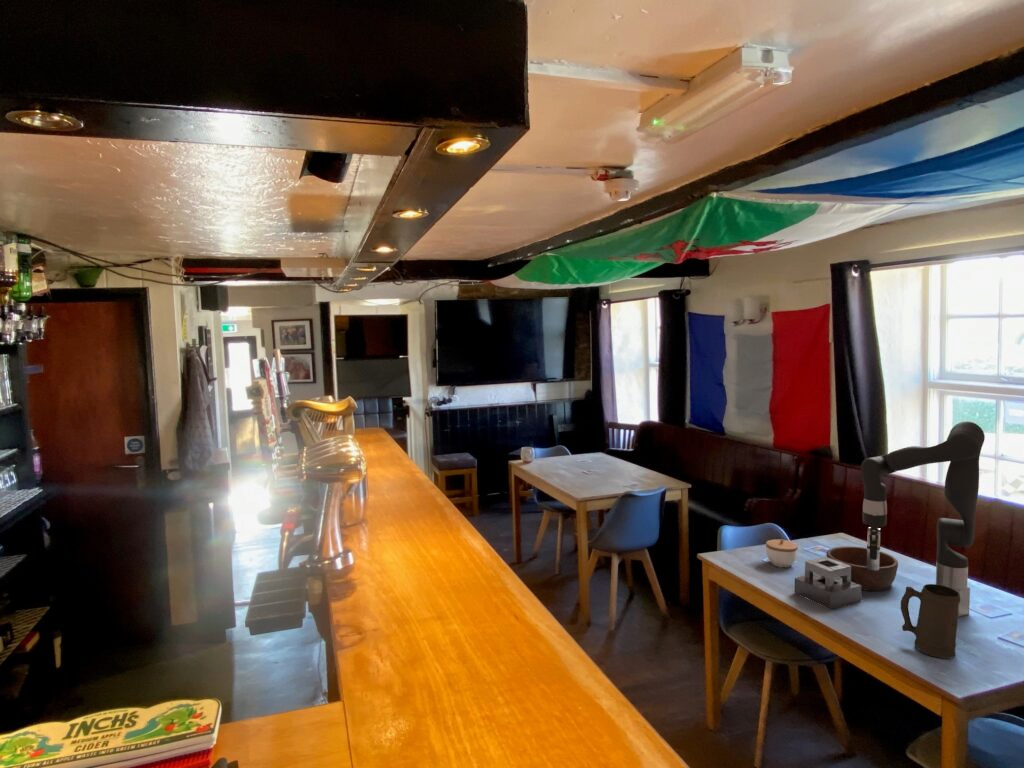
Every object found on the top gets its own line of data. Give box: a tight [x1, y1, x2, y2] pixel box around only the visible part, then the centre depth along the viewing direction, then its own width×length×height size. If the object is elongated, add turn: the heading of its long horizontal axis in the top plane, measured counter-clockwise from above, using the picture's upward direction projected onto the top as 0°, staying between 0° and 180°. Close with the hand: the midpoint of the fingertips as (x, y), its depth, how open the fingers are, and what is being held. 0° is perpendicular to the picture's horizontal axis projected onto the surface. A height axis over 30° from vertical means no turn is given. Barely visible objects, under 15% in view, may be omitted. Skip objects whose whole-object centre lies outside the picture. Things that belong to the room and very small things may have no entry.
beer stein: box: [900, 583, 961, 659], centre depth 195 cm, size 15×11×20 cm
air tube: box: [866, 535, 881, 570], centre depth 227 cm, size 4×4×14 cm
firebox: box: [794, 556, 862, 610], centre depth 235 cm, size 16×16×13 cm
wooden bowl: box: [826, 545, 899, 591], centre depth 249 cm, size 25×25×10 cm
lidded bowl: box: [765, 538, 799, 568], centre depth 268 cm, size 13×13×11 cm
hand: (873, 556), depth 227 cm, fingers closed on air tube, 4 cm apart
